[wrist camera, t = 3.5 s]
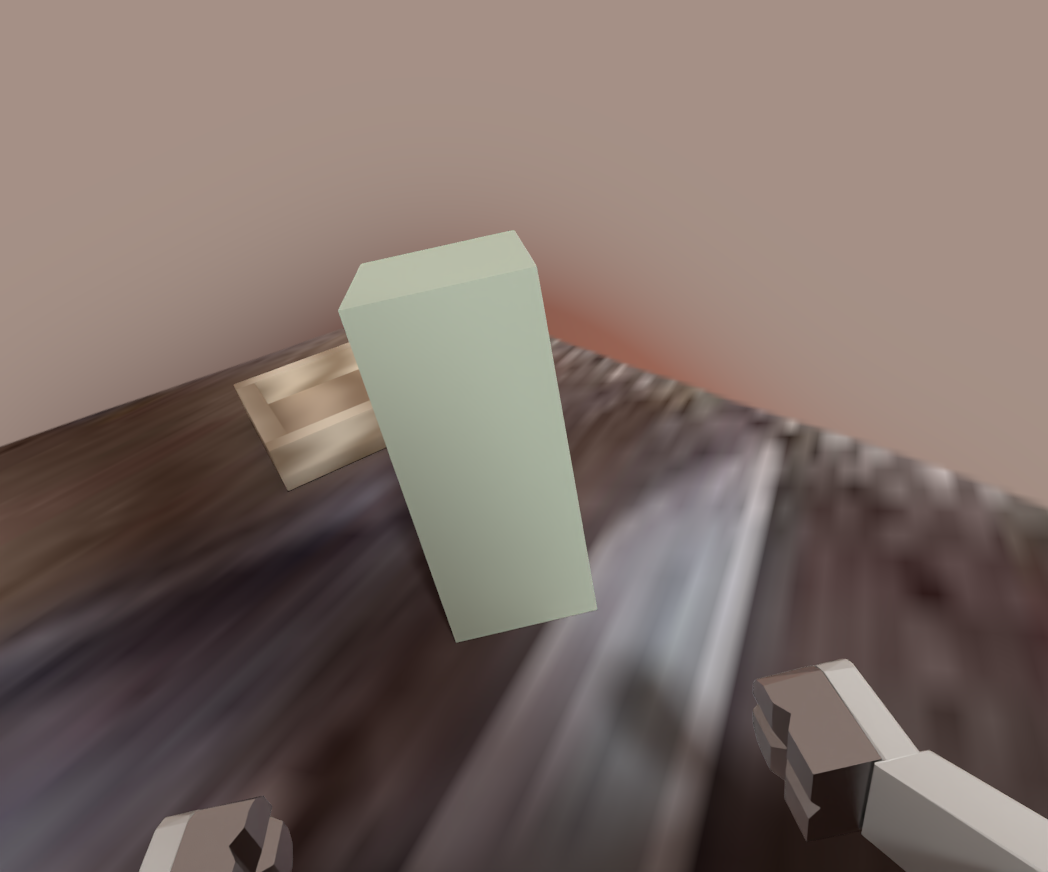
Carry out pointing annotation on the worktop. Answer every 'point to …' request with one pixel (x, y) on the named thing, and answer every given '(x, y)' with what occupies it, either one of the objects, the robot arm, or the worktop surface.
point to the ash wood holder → (312, 415)
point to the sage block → (474, 428)
